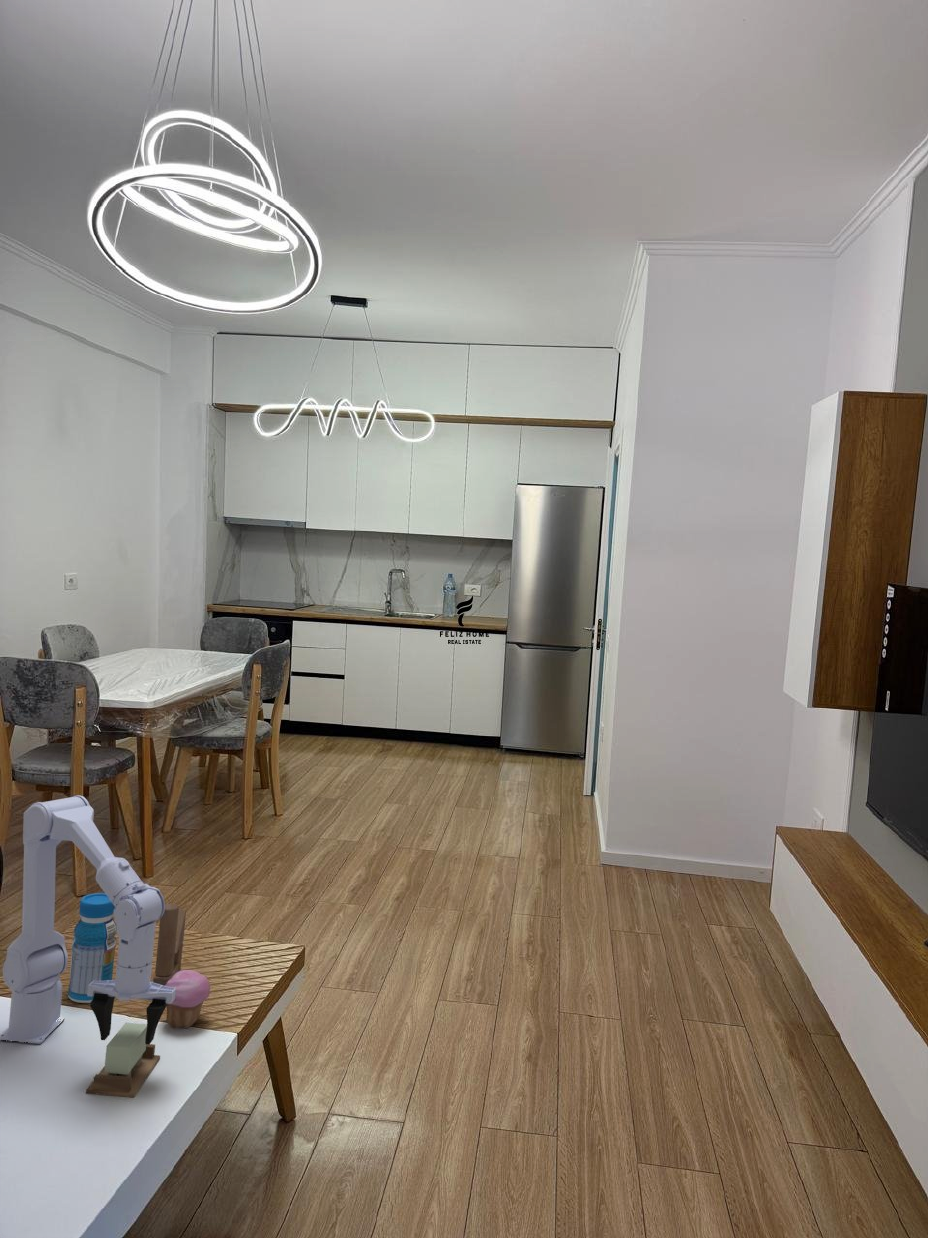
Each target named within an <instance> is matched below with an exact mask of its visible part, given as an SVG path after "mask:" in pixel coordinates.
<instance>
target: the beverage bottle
mask: <svg viewBox="0 0 928 1238" xmlns="http://www.w3.org/2000/svg"><path fill="white" fill-rule="evenodd" d="M114 909H116V907H115V906H114V905H113V903H112V902H111V901H110V899H109V898H108V896H107V895H106V894H105V892H96V893H91V894H86V895H84V896H83V897H81V899H80V902H79V913H78V914H79V917H80V919H79V920H78V922H77V923H76V925H75V926H74V929H73V931H72V932H73V937H74V939H73V940H72V943H71V947H70V948H71V957H70V967H69V969H70V970H69V971H70V972H69V982H68V989H67V996H68V997H67V998H68V999H70V1000H71V1001H72V1002H75V1003H79V1004H90V1003H91V1001H92V1000H93V998H94V996H93V997H91V996H87V992H88V985H89V984H90V983H91V982H92V981H93V980H96V981H106V980H113V972H114V963H115V953H116V947H117V938H116V936H115V935H116V934H117V924H116V921H115V918H113V916H114Z"/></svg>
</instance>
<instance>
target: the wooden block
mask: <svg viewBox="0 0 928 1238" xmlns="http://www.w3.org/2000/svg"><path fill="white" fill-rule="evenodd" d="M186 914H187V910H186V909H180V906H179V904H176V903H165V911H164V914H163V916H162V917H161V918H160V919H159V927H158V928H159V930H158V936H157V937H158V939H157V947H156V949H157V950H156V960H155V971H154V974H155V975H154V976H153V981H152V982H153V983H156V984H160V985H163V986H165V985H166V984H167V982H168V981H169V980H170V979H171V978H172V977H173V976H174V975H175V974H176V973H177V972H179V971H182V970H181V969H182V958H183V947H184V946H183V945H184V943H183V942H184V939H185V938H184V937H185V928H186V927H185V926H186V916H187V915H186Z"/></svg>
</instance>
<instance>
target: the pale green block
mask: <svg viewBox="0 0 928 1238" xmlns="http://www.w3.org/2000/svg"><path fill="white" fill-rule="evenodd" d="M146 1031H147V1023H135V1022H134V1023H133V1022H125V1023H124V1024H123V1025H122V1026H121V1027H120V1029H119V1030H118V1031H117V1033H116V1034H115V1035H114V1036H113V1038H111V1040H110V1041H109V1042H108V1044H107V1045H106V1048H105V1049H106V1050H105V1060H104V1066H105V1069H104V1073H116V1074H127V1075H128V1074H129V1072H130V1071H131V1070H132V1068H133V1067H134V1065H135V1064H136V1063H137V1061H138V1060H139V1059H140V1057H141V1056H142V1054H143V1053H144V1052H145V1050H146V1044H145V1038H146Z"/></svg>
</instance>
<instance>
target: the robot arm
mask: <svg viewBox="0 0 928 1238" xmlns="http://www.w3.org/2000/svg"><path fill="white" fill-rule="evenodd" d="M94 816H95V810H94V808H93V807H92V806H91V805H90V802H89V801H88V799H86V798H85V796H83V795H73V796H71V797H65V798H59V799H55V800H54V799H53V800H48V801H43V802H42V801H38V802H35V803H32V804H31V805H30V806H29V807H28V808H27V809H26V810H25V811H24V812H23V822H22V823H23V824H22V825H23V828H22V829H23V830H22V844H23V871H22V872H23V874H22V875H23V878H22V879H23V880H22V917H21V919H22V921H21V933H20V934H19V936H17V937H16V939H14V941H13V942H12V943H11V944H10V945H9V946H8V947H7V949H6V957H5V958H6V959H5V961H4V963H3V966H2V967H3V968H2V978H3V982H4V983H5V985H6V987H8V989H9V990H11V996H10V997H11V998H10V1007H9V1008H10V1010H9V1022H8V1028H6V1029H5V1030H4V1031H3V1032H2V1033H1V1034H0V1041H1V1040H6V1041H5V1042H8V1041H7V1040H10V1041H9V1042H12V1041H19V1042H18V1043H24V1042H25V1043H24V1044H26V1042H28V1043H27V1044H37V1045H39V1044H40V1045H41V1044H42V1043H43V1042H44V1041H45V1040H46V1039H47V1038H48V1037H49V1036H50V1035H51V1034H52V1033H53V1032H54V1031H55V1030H56V1029H57V1028H58V1027H59V1026H58V1024H59V1023H60V1022H61V1021H58V1020H59V1019H58V1018H59V1017H60V1016H61V1009H62V995H63V984H62V981H61V979H60V977H61V975H62V974H64V973H65V971H66V970H67V967H68V964H69V955H68V951H67V948H66V937H65V936H64V935H63V934H61V933H60V932H58V931H57V930H55V910H56V908H55V904H56V903H55V901H56V868H57V867H56V865H57V864H56V863H57V862H56V861H57V860H56V859H57V858H56V857H57V847H58V845H59V844H60V843H61V842H62V841H69V842H72V843H73V844H74V845H75V846H76V848H78V850H79V851H80V852H81V853H82V854H83V855H84V857H85V858H86V859H87V860H88V861H89V862H90V863H91V865H92V866H93V867H94V868H95V869H96V872H95V873H96V874H95V882H96V883H97V884H98V885H99V887H100V889H101V890H102V891H103V893H105V894H106V895H107V896H108V898H109V899H110V901H111V902H112V903H113V905H114V906H115V909H114V914H113V917H114V918H113V919H114V921H115V923H116V927H117V932H116V934H117V937H118V950H117V960H116V970H115V979H112V980H106V981H96V980H93V981H92V982H91V983H90V984H89V985H88V992H87V996H91V997H93V996H94V998H93V1000H92V1001H91V1003H89V1004H90V1009H91V1011H92V1013H93V1014H94V1016H95V1019H96V1021H97V1025H98V1028H99V1030H98V1031H99V1035H100V1041H106V1040H107V1038H108V1037H109V1036H110V1034H111V1030H112V1016H113V1010H114V1009H113V1008H114V1003H115V999H116V998H117V1001H118V1002H129V1001H131V1000H146V1001H151V1002H150V1003H149V1004H148V1006H147V1007H146V1009H145V1010H146V1024H147V1031H146V1038H145V1044H151V1043H152V1042H153V1040H154V1038H155V1033H156V1031H157V1027H158V1025H159V1022H160V1020H161V1017H162V1016H163V1013H164V1012H165V1010H166V1009H167V1004H171V1003H172V1002H173V1001H174V999H175V994H176V988H172V987H167V986H163V985H160V984H156V983H153V981H151V980H152V978H151V977H152V970H153V969H152V967H153V958H154V957H153V956H154V950H155V949H154V947H155V938H156V937H155V936H156V927H157V922H156V921H158V920H160V918H161V917H162V916H163V914H164V911H165V904H166V903H165V898H164V896H163V894H162V893H161V890H160V889H159V888H157V887H154V886H150V885H149V884H148V883H144V881H142V880H141V878H140V877H139V876H138V874H137V873H136V871H135V870H134V869H133V868H132V866H131V863H130V862H129V861H128V860H127V859H126V858H124V857H117V856H115V855H114V853H113V852H112V850H111V848H110V846H109V845H108V844H107V842H106V841H105V838H104V837H103V836H102V834H101V832H100V831H99V829H98V828H97V826H96V824H95V822H94ZM57 1019H58V1020H57ZM56 1020H57V1022H56ZM60 1020H61V1019H60ZM57 1026H58V1027H57ZM56 1027H57V1028H56ZM55 1028H56V1029H55ZM54 1029H55V1030H54ZM53 1030H54V1031H53ZM52 1031H53V1032H52ZM51 1032H52V1033H51ZM50 1033H51V1034H50ZM49 1034H50V1035H49ZM48 1035H49V1036H48ZM47 1036H48V1037H47ZM46 1037H47V1038H46ZM45 1038H46V1039H45ZM11 1040H12V1041H11Z"/></svg>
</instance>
